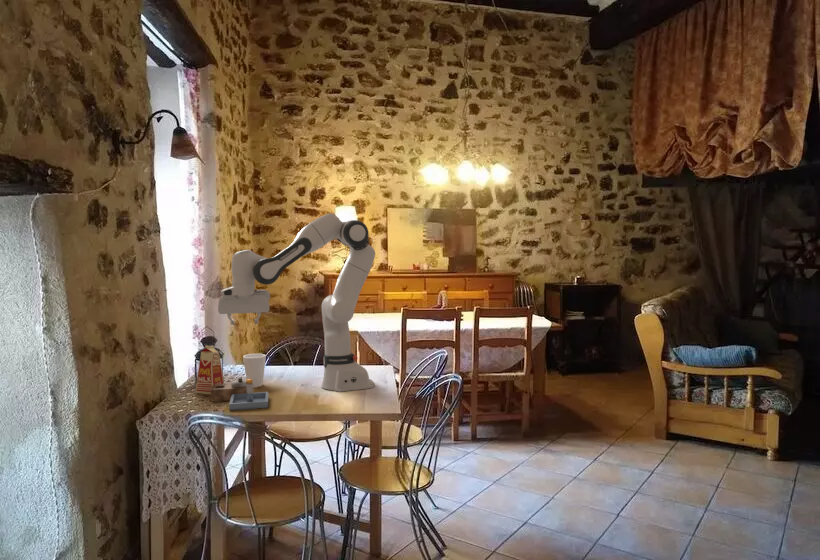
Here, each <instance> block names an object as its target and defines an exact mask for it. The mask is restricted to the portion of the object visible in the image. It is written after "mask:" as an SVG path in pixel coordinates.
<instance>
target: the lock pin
mask: <svg viewBox="0 0 820 560" xmlns="http://www.w3.org/2000/svg"><path fill="white" fill-rule="evenodd" d="M245 380H246V390H247V402H253V393H254V387H253V379H245Z"/></svg>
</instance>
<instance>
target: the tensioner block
mask: <svg viewBox="0 0 820 560" xmlns="http://www.w3.org/2000/svg"><path fill="white" fill-rule="evenodd" d="M246 380H247V379H243V378H242V377H238V379H236V380H233V381H231V383H224V384H220V385H213V386H212V389H211V394H210V401H211V402H213V401H212V400H223V401H230V400H231V396H232V394H241V393H247V390H246Z"/></svg>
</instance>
